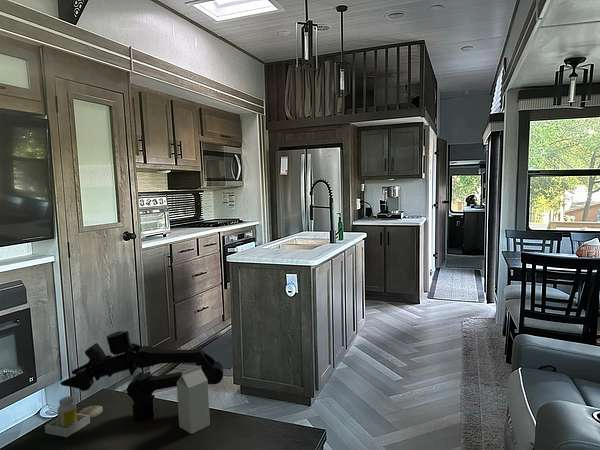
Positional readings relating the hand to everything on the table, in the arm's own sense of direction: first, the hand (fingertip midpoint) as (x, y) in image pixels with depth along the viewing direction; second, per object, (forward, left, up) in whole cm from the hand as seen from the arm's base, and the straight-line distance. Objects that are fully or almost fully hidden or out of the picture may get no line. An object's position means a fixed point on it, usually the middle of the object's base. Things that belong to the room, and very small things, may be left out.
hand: (66, 377), depth 139 cm
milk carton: (-42, +10, -16) cm, 46 cm away
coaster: (-4, -7, -16) cm, 18 cm away
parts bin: (0, +2, -16) cm, 16 cm away
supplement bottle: (0, +2, -16) cm, 16 cm away
